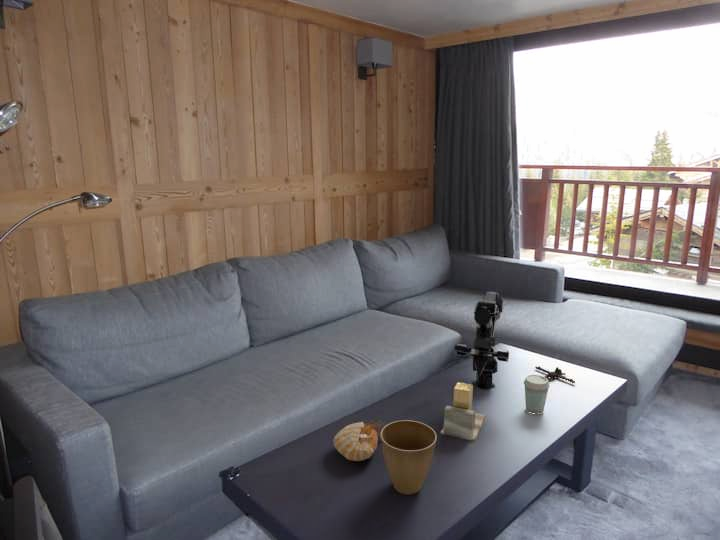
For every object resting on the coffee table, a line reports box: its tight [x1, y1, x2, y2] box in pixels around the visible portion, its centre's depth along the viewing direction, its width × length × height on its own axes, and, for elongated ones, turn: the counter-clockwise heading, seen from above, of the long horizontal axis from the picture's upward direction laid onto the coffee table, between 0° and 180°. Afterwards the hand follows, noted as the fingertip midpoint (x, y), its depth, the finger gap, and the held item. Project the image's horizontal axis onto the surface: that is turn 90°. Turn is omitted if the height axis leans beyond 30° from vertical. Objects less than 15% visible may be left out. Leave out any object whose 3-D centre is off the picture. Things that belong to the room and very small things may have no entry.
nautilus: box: [333, 419, 386, 462], centre depth 159 cm, size 8×22×15 cm
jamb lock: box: [440, 405, 486, 442], centre depth 173 cm, size 16×11×9 cm, turn 155°
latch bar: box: [452, 381, 474, 411], centre depth 170 cm, size 6×5×14 cm
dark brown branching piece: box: [535, 365, 576, 384], centre depth 208 cm, size 18×4×14 cm
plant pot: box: [380, 419, 437, 495], centre depth 141 cm, size 15×15×16 cm
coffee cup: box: [523, 374, 550, 414], centre depth 182 cm, size 8×8×12 cm
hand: (478, 376), depth 182 cm, fingers closed
